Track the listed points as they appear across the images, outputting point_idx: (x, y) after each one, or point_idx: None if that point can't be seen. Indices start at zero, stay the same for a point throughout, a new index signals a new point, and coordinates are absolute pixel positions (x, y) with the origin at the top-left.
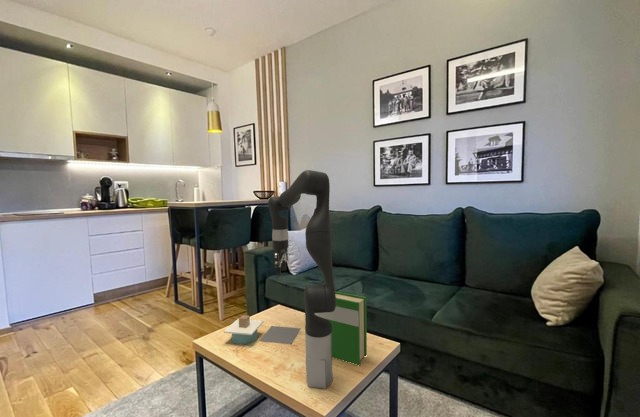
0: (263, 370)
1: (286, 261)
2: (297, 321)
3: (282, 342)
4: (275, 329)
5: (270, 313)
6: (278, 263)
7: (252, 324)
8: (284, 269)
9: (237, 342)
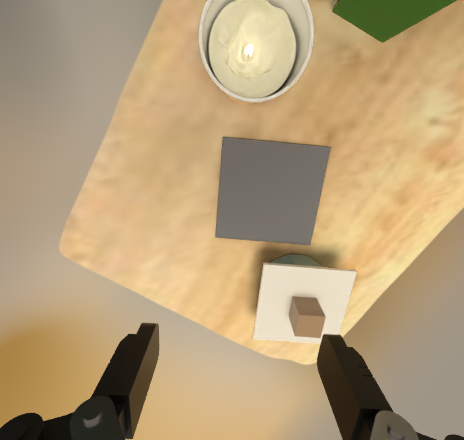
0: (447, 193)
1: (102, 410)
2: (165, 161)
3: (319, 178)
4: (238, 219)
5: (121, 264)
6: None
7: (293, 288)
8: (155, 339)
9: None
